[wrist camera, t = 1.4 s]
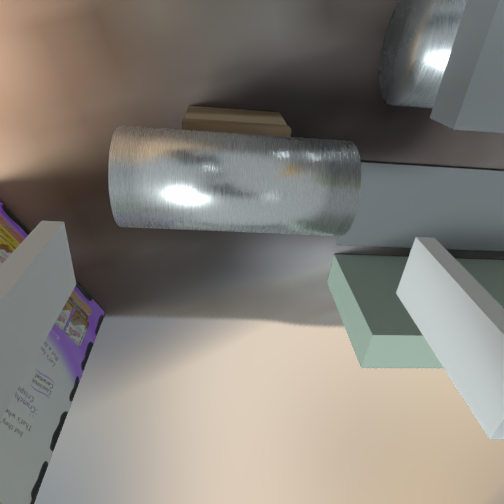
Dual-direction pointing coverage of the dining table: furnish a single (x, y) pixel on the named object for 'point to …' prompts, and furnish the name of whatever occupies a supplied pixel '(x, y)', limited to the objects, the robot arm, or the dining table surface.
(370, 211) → the mat
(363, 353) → the block
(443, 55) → the roller bed
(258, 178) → the roller
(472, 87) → the stone slab
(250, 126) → the roller rest
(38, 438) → the candy box
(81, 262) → the dining table surface
